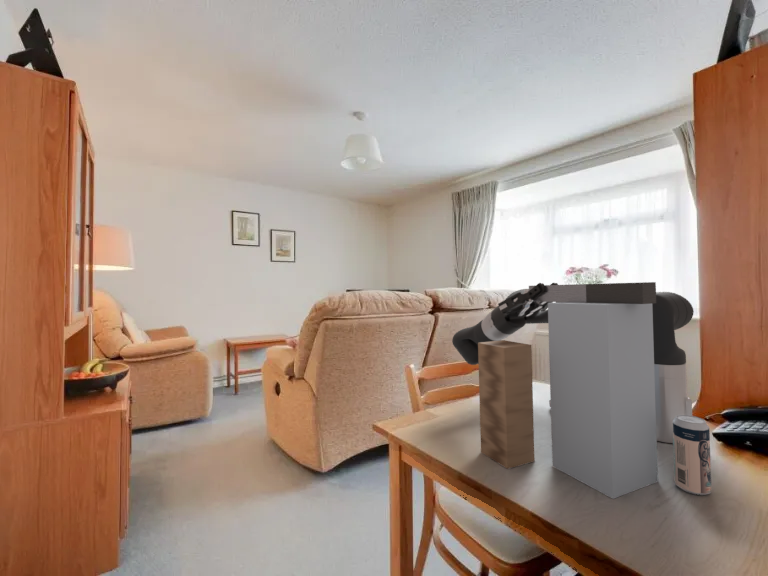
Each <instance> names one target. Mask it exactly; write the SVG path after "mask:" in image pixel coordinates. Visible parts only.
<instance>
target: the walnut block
mask: <svg viewBox="0 0 768 576" xmlns="http://www.w3.org/2000/svg"><path fill="white" fill-rule="evenodd" d="M532 352H533V351H532V344H528V343H523V342H517V341H516V342H515V341H510V340H505V339H502V340H500V341H490V342H480V343H478V362H479V364H478V387H479V389H478V391H479V392H478V395H479V396H478V397H479V427H480V429H479V430H480V453H481V454H483V455H485V456H486V457H488V458H489V459H492V460H493V461H494V462H496V463H498V464H499V465H500V466H502V467H504V468H505V469H507V470H509V469H513V468H516V467H520V466H522V465H525V464H530V463H533V462H535V461H536V460H535V459H536V458H535V430H534V429H535V425H534V424H535V423H534V399H533V397H534V396H533V393H534V392H533V359H532V358H533V357H532V355H533V353H532Z"/></svg>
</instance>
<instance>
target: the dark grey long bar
mask: <svg viewBox="0 0 768 576" xmlns="http://www.w3.org/2000/svg"><path fill="white" fill-rule="evenodd" d="M656 285H657V283H656V281H652V282H649V281H648V282H647V281H645V282H616V283H614V282H613V283H611V282H610V283H582V284H581V283H579V284H573V283H572V284H558V285H551V284H544V286H545V288H546V292H545V293H543V294H542V295H541V296H539V297H538V298H537V299H533V301H536V302H553V303H556V302H577V303H619V304H653V303H656V292H657V286H656ZM535 286H536V285H528V288H524V289H525V291H530V290H531V289H532V288H533V287H535Z"/></svg>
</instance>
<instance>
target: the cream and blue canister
mask: <svg viewBox="0 0 768 576" xmlns="http://www.w3.org/2000/svg"><path fill="white" fill-rule="evenodd" d="M710 431H711V430H710V426H709V425H708V424H707V422H706V420H705V418H704V419H703V418H701V417H698V416H695V415H692V416H690V415H677V416H676V417H675V418H674V420H673V443H672V445H673V469H674V471H673V473H674V474H673V476H674V484H675V485H676V486H677V487H678V488H680V489H681V490H682V491H684V492H686V493H689V494H691V493H692V494H693V495H696V494H697V495H698V496H705V495H709V494H711V493H712V471H711V470H712V469H711V466H712V465H711V443H710V442H711V439H710V438H711V436H710ZM699 494H700V495H699ZM697 495H696V496H697Z"/></svg>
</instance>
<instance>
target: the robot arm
mask: <svg viewBox="0 0 768 576" xmlns="http://www.w3.org/2000/svg"><path fill="white" fill-rule="evenodd" d="M544 285H545V284H544V283H543V282H539V283H537V284H536V285H534V286H535V287H533V288H532V289H531V290H530V291H525V289H526V288H523V289H518V290H515V291H513V292H512V293H510V294H509V295H508V296H507V297H506V298H505V299H504V300H502V301H500V302H499V303H498V304H497V306H496V307H495V308H494V309H493V310H491V311H490V312H489V313H488V314H487V315H485V317H484V318H483V319H481V320H480V321H479V322H478V323H477V324H475V325H473V326H469V327H466V328H465V327H464V328H463V329H460V330H458V331H457V332H455V333H454V335H453V337H452V339H451V341H452V345H453V347H454V349H456V350H457V352H458V353H459V354H460V356H461V357H462V358H463V360H464V361H465V362H466V363H467V364H468V365H471V366H473V365H474V366H476V365H479V362H478V343H480V342H490V341H500V340H505V339H506V338H508V337H510V336H511V335H513V334H515V333H516V332H517V331H519V330H520V329H522V328H523V327H525V326H526V324H527V325H528V324H529V325H530V324H531V325H533V324H534V325H535V324H548V303H554V302H536V301H533V299H537V298H538V297H539V296H541V295H542V294H543V293H545V292H546V288H545V286H544ZM550 285H559V284H558V282H552V283H550ZM555 303H557V302H555ZM652 309H653V342H654V375H655V408H656V440H657V442H662V443H667V444H673V420H674V418H675V417H676V416H677V415H690V416H693V401H692V399H691V397H689V396H688V385H687V384H688V382H687V381H688V379H687V354H686V351H685V350H683V349H682V348H681V347H679V346H678V345H677V341H676V333H675V331H676V330H679V329H681V328H683V327H685V326H686V325H688V324H689V322H691V320H692V319H693V316H694V308H693V306H692V303H691V302H690V301H689V300H688V299H687V298H685V297H684V296H682V295H680V294H678V293H675V292H671V291H656V303H653V304H652Z"/></svg>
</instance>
